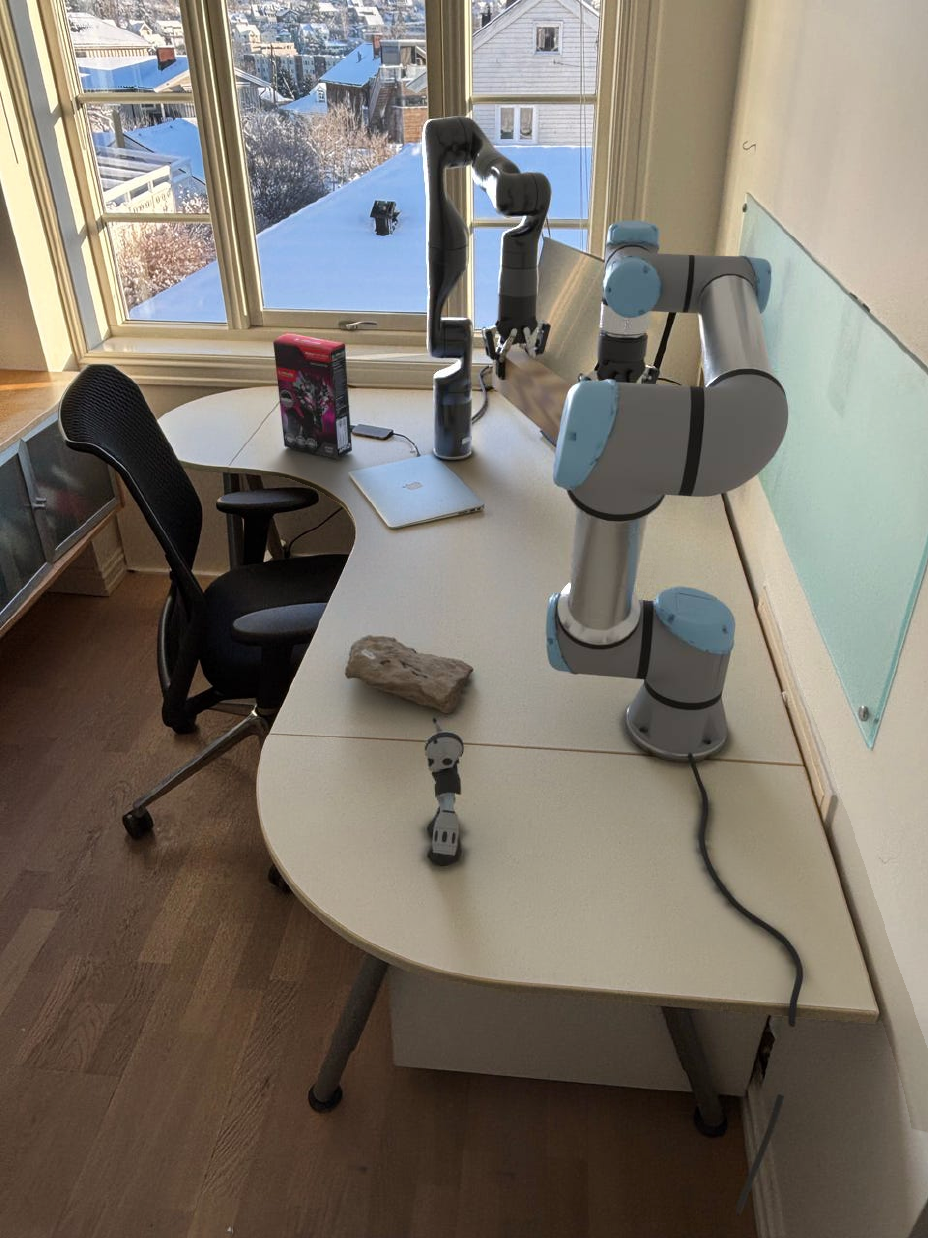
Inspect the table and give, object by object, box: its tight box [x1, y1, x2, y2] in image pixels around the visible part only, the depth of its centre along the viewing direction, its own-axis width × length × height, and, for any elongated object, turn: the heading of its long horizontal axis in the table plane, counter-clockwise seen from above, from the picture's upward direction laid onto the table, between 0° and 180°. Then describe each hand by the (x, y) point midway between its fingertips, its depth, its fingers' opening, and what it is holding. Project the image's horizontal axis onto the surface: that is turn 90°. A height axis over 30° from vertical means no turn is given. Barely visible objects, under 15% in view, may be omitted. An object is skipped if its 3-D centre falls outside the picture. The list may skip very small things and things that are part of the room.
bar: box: [491, 344, 573, 444], centre depth 167 cm, size 51×5×8 cm, turn 21°
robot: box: [423, 717, 465, 867], centre depth 118 cm, size 20×5×20 cm, turn 3°
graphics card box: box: [272, 332, 353, 460], centre depth 223 cm, size 17×7×27 cm, turn 62°
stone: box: [344, 634, 474, 714], centre depth 150 cm, size 21×15×6 cm
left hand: (514, 376), depth 183 cm, fingers closed on bar, 5 cm apart
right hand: (609, 471), depth 154 cm, fingers closed on bar, 5 cm apart
